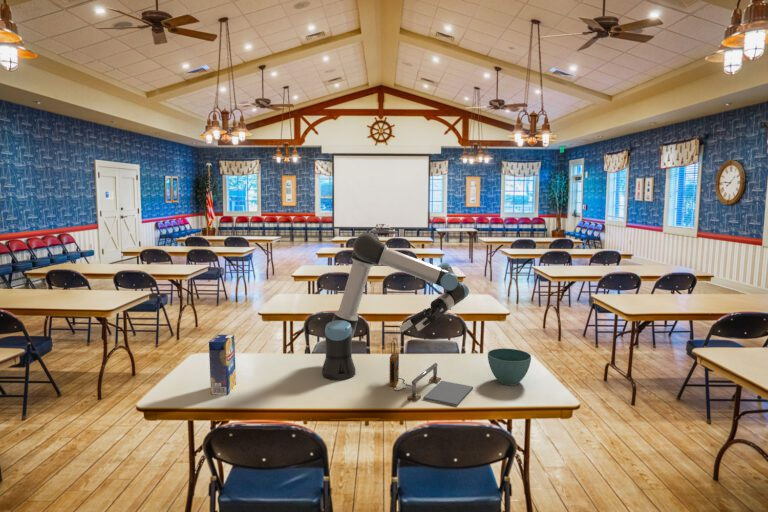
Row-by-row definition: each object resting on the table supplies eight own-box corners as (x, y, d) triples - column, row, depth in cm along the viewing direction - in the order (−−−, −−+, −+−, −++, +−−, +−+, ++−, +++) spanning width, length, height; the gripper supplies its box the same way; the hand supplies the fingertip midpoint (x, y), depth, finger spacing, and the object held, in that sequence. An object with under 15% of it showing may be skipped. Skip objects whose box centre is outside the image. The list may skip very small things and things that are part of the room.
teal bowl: (478, 382, 215) (479, 354, 213) (500, 371, 228) (501, 345, 227) (517, 393, 203) (518, 364, 201) (537, 381, 216) (538, 354, 214)
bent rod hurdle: (407, 399, 196) (407, 380, 195) (432, 378, 219) (432, 361, 218) (416, 401, 194) (416, 382, 193) (441, 380, 217) (441, 362, 216)
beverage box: (236, 384, 211) (234, 334, 208) (227, 395, 200) (225, 342, 198) (220, 384, 211) (218, 334, 209) (210, 395, 200) (208, 342, 198)
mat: (423, 399, 196) (423, 397, 196) (441, 382, 214) (441, 380, 214) (456, 406, 190) (456, 404, 190) (473, 388, 207) (473, 386, 207)
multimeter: (411, 392, 203) (411, 345, 201) (387, 390, 205) (387, 343, 203) (416, 379, 218) (416, 335, 215) (394, 377, 220) (394, 334, 217)
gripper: (462, 309, 216) (428, 335, 205) (430, 313, 238) (398, 337, 227) (454, 294, 215) (420, 319, 205) (423, 300, 237) (390, 323, 226)
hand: (408, 329), depth 216 cm, fingers open, 13 cm apart
